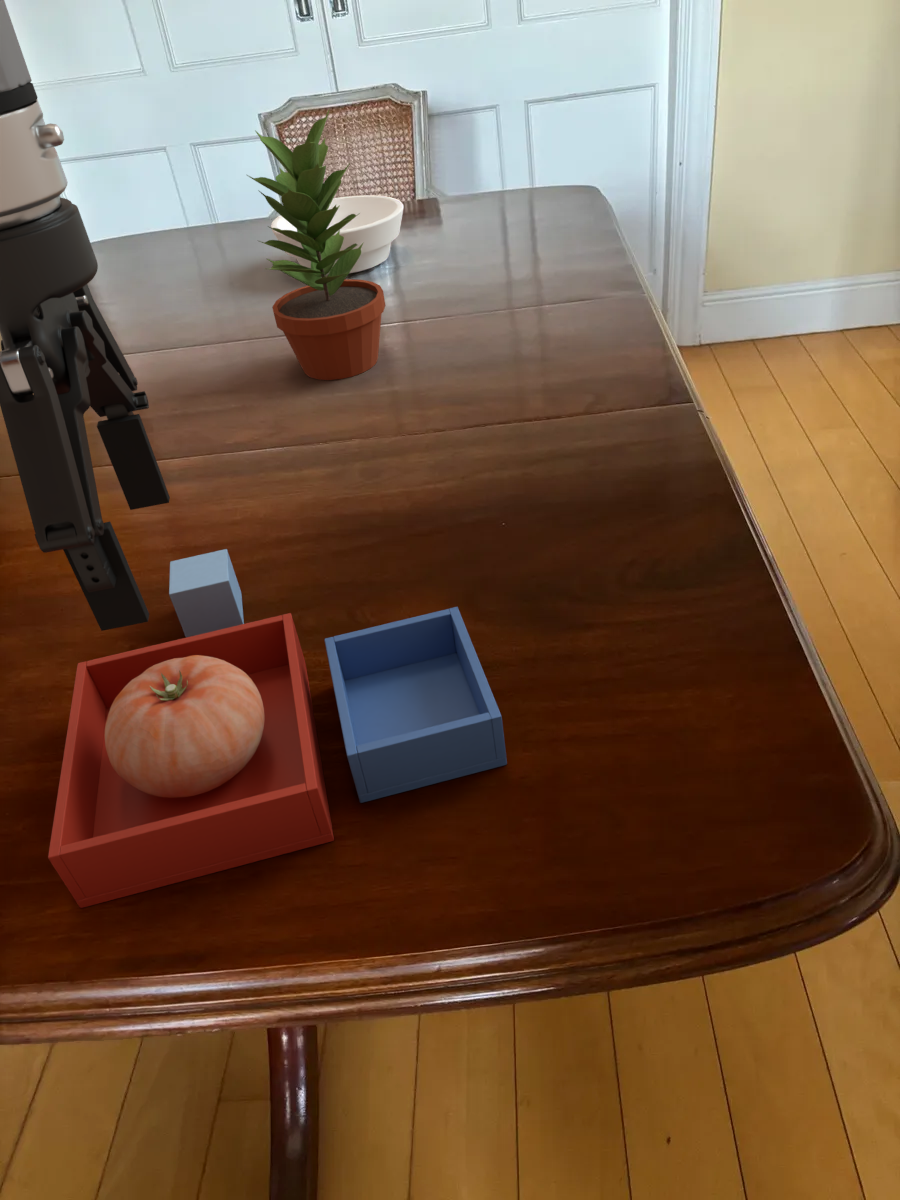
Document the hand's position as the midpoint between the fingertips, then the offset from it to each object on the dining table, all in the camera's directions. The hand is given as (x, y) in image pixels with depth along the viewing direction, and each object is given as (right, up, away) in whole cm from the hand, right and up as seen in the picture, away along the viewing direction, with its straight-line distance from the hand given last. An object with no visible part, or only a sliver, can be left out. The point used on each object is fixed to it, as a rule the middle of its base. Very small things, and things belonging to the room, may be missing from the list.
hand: (139, 558), depth 58 cm
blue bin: (+18, -12, +8) cm, 23 cm away
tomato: (+2, -15, +7) cm, 16 cm away
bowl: (+2, +55, +98) cm, 112 cm away
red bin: (+2, -15, +7) cm, 17 cm away
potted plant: (+5, +29, +63) cm, 70 cm away
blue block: (-1, -4, +22) cm, 22 cm away
